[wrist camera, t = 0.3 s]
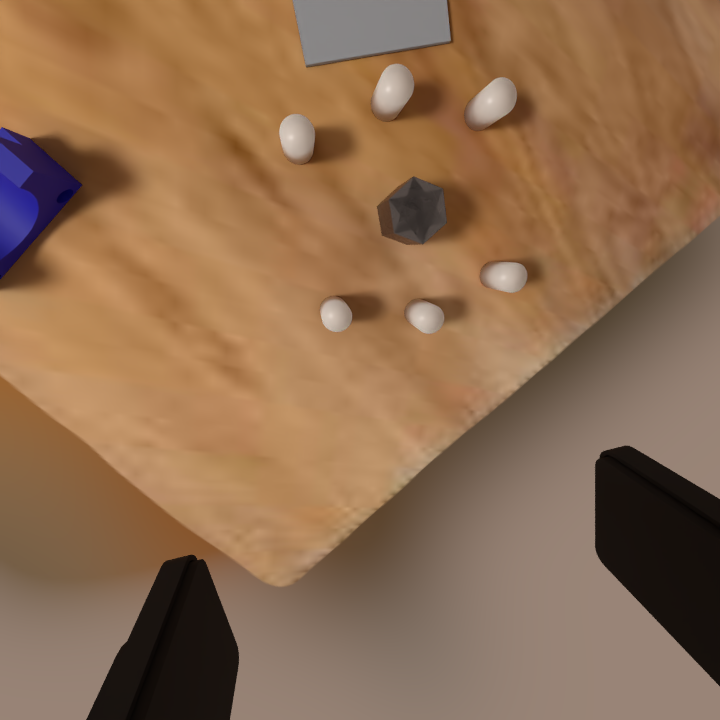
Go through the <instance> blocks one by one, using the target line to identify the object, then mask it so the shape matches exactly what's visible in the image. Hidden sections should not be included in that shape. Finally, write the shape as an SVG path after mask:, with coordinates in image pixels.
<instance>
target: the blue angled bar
mask: <svg viewBox="0 0 720 720" xmlns="http://www.w3.org/2000/svg"><path fill="white" fill-rule="evenodd" d="M81 186H82V184H81V183H79V182H78V181H77V180H76V179H75V178H74V177H73V176H71V175H70V174H69V173H68V172H67V171H66V170H65V169H64V168H62V167H61V166H60V165H59V164H58V163H57V162H56V161H55V160H53V159H52V158H51V157H50V156H49V155H48V154H47V153H46V152H44V151H43V150H42V149H41V148H40V147H39V146H38V145H37V144H35V143H34V142H33V141H32V140H31V139H30V138H28V137H25V136H23V135H20V134H18V133H15V132H13V131H10V130H8V129H5V128H3V127H2V128H1V129H0V279H1V278H2V277H3V276H4V275H5V273H6V272H7V271H8V270H9V269H10V268H11V267H12V265H13V264H14V263H15V262H16V261H17V260H18V259H19V257H20V256H21V255H22V254H23V253H24V252H25V250H26V249H27V248H28V247H29V246H30V245H31V244H32V242H33V241H34V240H35V239H36V238H37V237H38V235H39V234H40V233H41V232H42V231H43V230H44V229H45V227H46V226H47V225H48V224H49V223H50V222H51V221H52V219H53V218H54V217H55V216H56V215H57V214H58V212H59V211H60V210H61V209H62V208H63V207H64V206H65V204H66V203H67V202H68V201H69V200H70V199H71V198H72V196H73V195H74V194H75V193H76V192H77V191H78V189H79V188H80V187H81Z"/></svg>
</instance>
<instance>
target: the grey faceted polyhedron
mask: <svg viewBox="0 0 720 720" xmlns="http://www.w3.org/2000/svg"><path fill="white" fill-rule="evenodd" d="M377 209H378V215H379V221H380V227H381V233H382V236H385V237H388V238H390V239H393V240H396V241H398V242H401V243H404V244H406V245H415V244H424V243H425V242H426V241H427V240H428V239H429V238H430V237H432V236H433V235H434V234H435V233H436V232H437V231H438V230H439V229H440V228H441V227H443V226H444V225H445V224H446V223H447V219H446V210H445V202H444V193H443V189H442V188H440V187H438V186H435V185H433V184H430V183H428V182H426V181H423V180H421V179H418V178H416V177H412V178H410V179H409V180H407V181H406V182H404V183H403V184H401V185H400V186H398V187H397V188H396V189H395V190H394V191H393V192H392V193H391V194H390V195H389V196H387V197H386V198H385V199H384V200H383V201H382V202H381V203H380V204H379V205H378V206H377Z"/></svg>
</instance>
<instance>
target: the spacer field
mask: <svg viewBox="0 0 720 720" xmlns="http://www.w3.org/2000/svg"><path fill="white" fill-rule="evenodd" d="M413 90H414V79H413V76H412V74H411V72H410V71H409V69H408V68H406V67H405V66H403V65H401V64H393V65H390V66H388V67H387V68H386V69H385V70H384V71H383V73H382V75H381V77H380V80H379V82H378V84H377V86H376V89H375V91H374V93H373V95H372V98H371V109H372V112H373V114H374V115H375V116H376V117H377V118H378V119H379V120H381V121H385V122H387V121H391V120H393V119H395V118H396V117H397V116H398V114H399V113H400V111H401V110H402V109H403V107H404V106H405V104H406V103H407V102H408V100H409V99H410V97H411V96H412V93H413ZM516 100H517V91H516V88H515V85H514V84H513V82H512V81H511V80H509V79H507V78H504V77H500V78H496V79H495V80H493V81H492V82H491V83H490V84H489V85H487V86H486V87H485V88H484V89H483V90H482V91H481V92H479V93H478V94H477V95H476V96H475V97H474V98H473V99H472V100H470V101H469V103H468V104H467V106H466V108H465V112H464V118H465V122H466V124H467V125H468V127H469V128H470V129H472V130H474V131H481V130H484V129H485V128H487V127H488V126H490V125H491V124H493V123H494V122H496V121H497V120H499V119H500V118H502V117H504V116H505V115H507V114H508V113H509V112H510V111H511V110H512V109H513V108H514V106H515V103H516ZM280 139H281V144H282V149H283V152H284V155H285V157H286V158H287V159H288V160H289V161H290V162H292V163H294V164H298V165H301V164H305V163H307V162H308V161H309V160H310V159H311V157H312V155H313V152H314V142H315V131H314V127H313V125H312V123H311V122H310V121H309V119H307V118H306V117H305V116H303V115H300V114H292V115H289V116H287V117H286V118H285V119H284V120H283V121H282V123H281V126H280ZM480 281H481V283H482V284H483V285H484V286H485V287H487V288H491V289H496V290H500V291H505V292H510V293H514V292H517V291H519V290H521V289H522V288H523V287H524V285H525V283H526V281H527V271H526V269H525V267H524V266H523V265H522V264H520V263H513V262H499V261H491V262H488V263H486V264H485V265H484V266H483V267H482V269H481V272H480ZM320 314H321V318H322V321H323V324H324V325H325V327H326V328H327V329H329V330H331V331H334V332H340V331H343V330H345V329H347V328H348V327H349V325H350V324H351V321H352V312H351V310H350V308H349V307H348V305H347V304H346V303H345V301H344V300H343V299H342V298H340V297H337V296H330V297H327V298H326V299H324V300H323V302H322V303H321V306H320ZM404 314H405V318H406V320H407V321H408V322H409V323H410V324H412V325H413V326H415V327H416V328H417V329H419V330H420V331H422V332H424V333H427V334H431V333H434V332H436V331H438V330H439V329H440V328H441V327H442V325H443V323H444V313H443V311H442V310H441V308H439V307H438V306H436V305H434V304H432V303H429V302H427V301H425V300H422V299H414V300H412V301H410V302H409V303H408V304H407V306H406V308H405V312H404Z"/></svg>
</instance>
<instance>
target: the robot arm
mask: <svg viewBox="0 0 720 720" xmlns="http://www.w3.org/2000/svg"><path fill="white" fill-rule="evenodd" d="M595 548H596V552H597V555H598V557H599V559H600V560H601V562H602V563H603V564H604V566H605V567H606V568H607V569H608V570H609V571H610V572H611V573H612V574H613V575H614V576H615V577H616V578H617V579H618V580H619V581H620V582H621V583H622V584H623V586H624V587H626V589H627V590H628V591H629V592H630V593H631V594H632V595H633V596H634V597H635V598H636V599H637V600H638V601H639V602H640V603H641V604H642V605H643V606H644V607H645V608H646V609H647V611H648V612H649V613H650V614H651V615H652V616H653V617H654V618H655V619H656V620H657V621H658V622H659V623H660V624H661V625H662V626H663V627H664V628H665V629H666V630H667V632H668V633H669V634H670V635H671V636H672V637H673V638H674V639H675V640H676V641H677V642H678V643H679V644H680V645H681V646H682V647H683V648H684V649H685V650H686V651H687V652H688V653H689V655H691V657H692V658H693V659H694V660H695V661H696V662H697V663H698V664H699V665H700V666H701V667H702V668H703V669H704V670H705V671H706V672H707V673H708V674H709V675H710V677H711V678H712V679H713V680H714V681H715V682H716V683H717V684H718V685H719V686H720V499H718V498H717V497H715V496H714V495H712V494H710V493H708V492H707V491H705V490H704V489H702V488H700V487H698V486H696V485H695V484H693V483H692V482H690V481H688V480H687V479H685V478H683V477H682V476H680V475H678V474H677V473H675V472H673V471H672V470H670V469H668V468H667V467H665V466H663V465H662V464H660V463H658V462H656V461H655V460H653V459H651V458H649V457H648V456H646V455H644V454H643V453H641V452H640V451H638V450H636V449H634V448H633V447H630V446H622V447H618V448H614V449H610V450H606V451H603V452H602V453H601V454H600V458H599V459H598V460H597V461H596V464H595ZM238 665H239V652H238V646H237V643H236V641H235V638H234V636H233V633H232V630H231V627H230V625H229V622H228V620H227V617H226V614H225V612H224V609H223V606H222V604H221V601H220V599H219V596H218V594H217V591H216V588H215V585H214V583H213V580H212V578H211V575H210V572H209V570H208V567H207V565H206V562H205V561H204V560H203V559H201V560H197V558H196V557H195V556H194V555H188V556H184V557H180V558H176V559H172V560H168V561H166V562H164V563H163V565H162V566H161V568H160V571H159V573H158V575H157V577H156V580H155V582H154V584H153V586H152V588H151V590H150V593H149V595H148V597H147V599H146V601H145V603H144V606H143V608H142V610H141V612H140V614H139V617H138V619H137V621H136V623H135V625H134V628H133V630H132V632H131V634H130V636H129V639H128V641H127V642H126V643H125V644H124V645H123V646H122V647H121V649H120V650H119V652H118V654H117V656H116V657H115V660H114V662H113V664H112V666H111V668H110V670H109V673H108V674H107V677H106V679H105V681H104V683H103V685H102V687H101V690H100V692H99V694H98V696H97V698H96V700H95V702H94V704H93V707H92V709H91V711H90V713H89V715H88V718H87V719H86V720H230V715H231V709H232V703H233V696H234V690H235V684H236V678H237V672H238Z"/></svg>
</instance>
